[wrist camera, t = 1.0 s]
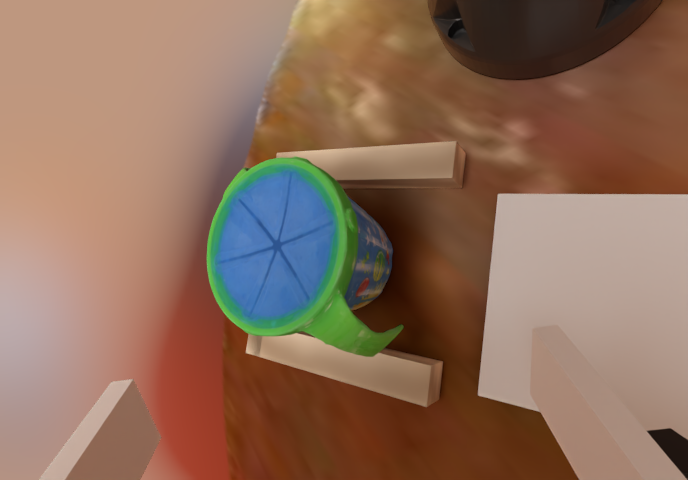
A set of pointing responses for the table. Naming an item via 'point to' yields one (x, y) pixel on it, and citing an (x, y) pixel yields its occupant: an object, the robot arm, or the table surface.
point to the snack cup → (298, 256)
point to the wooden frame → (388, 365)
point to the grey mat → (593, 296)
